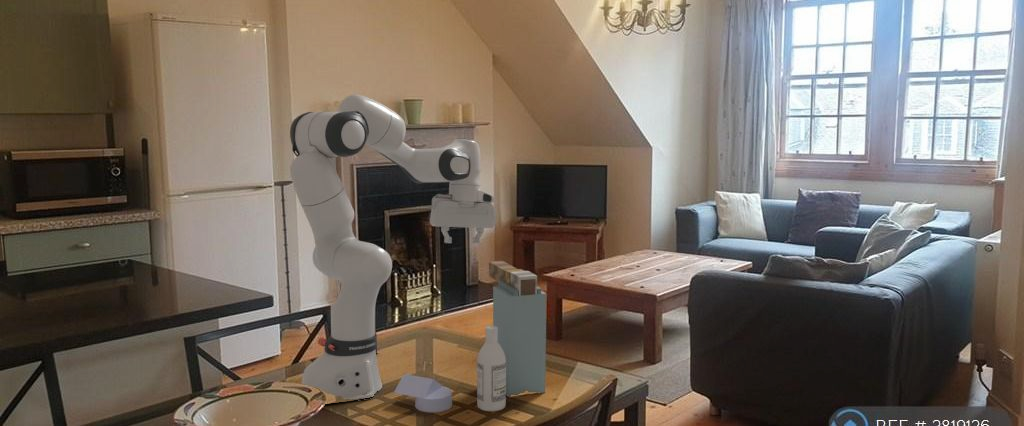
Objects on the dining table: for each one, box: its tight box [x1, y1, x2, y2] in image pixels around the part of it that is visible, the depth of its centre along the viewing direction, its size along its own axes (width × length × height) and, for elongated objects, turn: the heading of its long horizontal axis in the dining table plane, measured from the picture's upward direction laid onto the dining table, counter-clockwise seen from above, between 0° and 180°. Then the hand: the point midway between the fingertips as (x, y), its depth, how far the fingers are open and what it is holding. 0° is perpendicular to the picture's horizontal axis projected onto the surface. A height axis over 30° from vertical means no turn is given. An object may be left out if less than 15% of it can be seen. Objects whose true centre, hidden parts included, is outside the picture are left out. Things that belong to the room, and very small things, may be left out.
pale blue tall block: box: [492, 280, 547, 397], centre depth 203 cm, size 12×10×27 cm
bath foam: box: [476, 325, 507, 413], centre depth 190 cm, size 7×7×20 cm
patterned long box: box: [488, 260, 538, 296], centre depth 207 cm, size 24×5×5 cm, turn 21°
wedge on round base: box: [393, 373, 453, 413], centre depth 193 cm, size 9×7×13 cm
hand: (462, 243), depth 226 cm, fingers open, 8 cm apart
